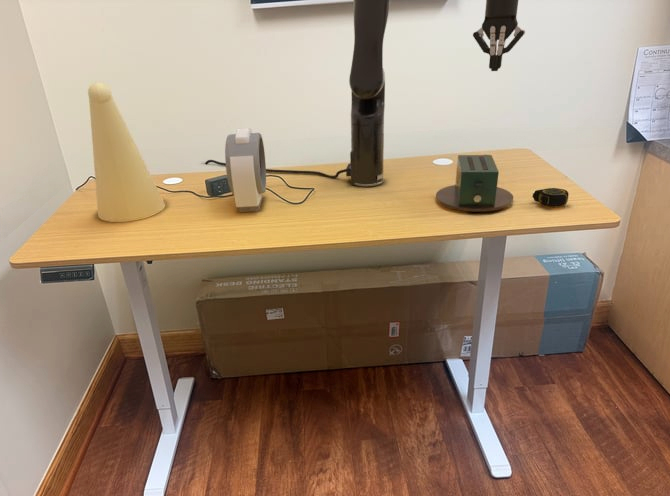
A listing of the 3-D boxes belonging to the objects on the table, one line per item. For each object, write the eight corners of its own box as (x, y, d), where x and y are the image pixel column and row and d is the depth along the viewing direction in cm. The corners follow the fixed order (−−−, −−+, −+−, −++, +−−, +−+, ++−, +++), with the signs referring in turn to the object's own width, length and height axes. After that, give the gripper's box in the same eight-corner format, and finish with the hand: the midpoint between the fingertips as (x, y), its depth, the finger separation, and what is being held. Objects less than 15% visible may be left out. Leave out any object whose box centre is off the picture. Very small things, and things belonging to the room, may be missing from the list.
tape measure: (556, 199, 135) (558, 185, 133) (572, 208, 129) (575, 193, 127) (531, 202, 134) (533, 188, 133) (546, 211, 128) (549, 196, 127)
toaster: (434, 186, 147) (436, 152, 142) (507, 186, 143) (512, 152, 139) (436, 211, 131) (438, 174, 126) (518, 212, 127) (524, 174, 122)
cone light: (100, 203, 154) (67, 75, 137) (164, 195, 158) (139, 68, 140) (92, 235, 133) (51, 88, 116) (166, 224, 137) (136, 79, 119)
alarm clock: (263, 215, 138) (255, 137, 128) (231, 217, 138) (220, 139, 128) (269, 193, 153) (262, 121, 143) (240, 194, 154) (231, 123, 144)
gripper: (472, -3, 130) (465, 72, 139) (529, -7, 125) (519, 72, 133) (478, -4, 136) (471, 68, 144) (533, -8, 130) (523, 68, 139)
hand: (494, 70), depth 139 cm, fingers closed
